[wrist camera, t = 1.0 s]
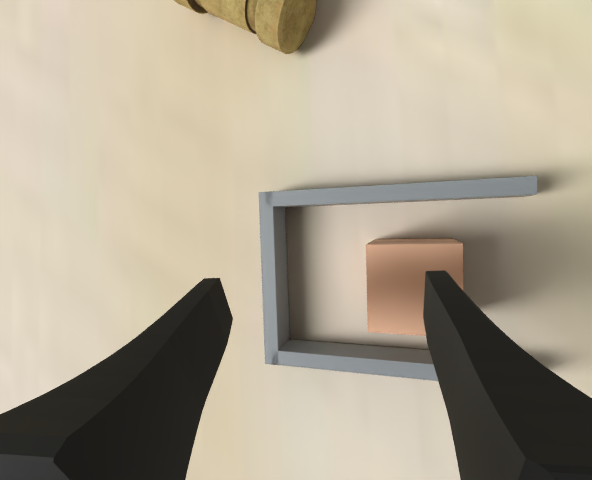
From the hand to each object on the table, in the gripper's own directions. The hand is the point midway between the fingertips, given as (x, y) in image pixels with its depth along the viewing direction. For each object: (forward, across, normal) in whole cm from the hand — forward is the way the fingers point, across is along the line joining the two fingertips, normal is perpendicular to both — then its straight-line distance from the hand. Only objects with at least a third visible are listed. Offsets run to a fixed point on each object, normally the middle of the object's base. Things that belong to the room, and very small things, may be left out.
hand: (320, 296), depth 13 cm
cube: (+10, -5, +8) cm, 14 cm away
